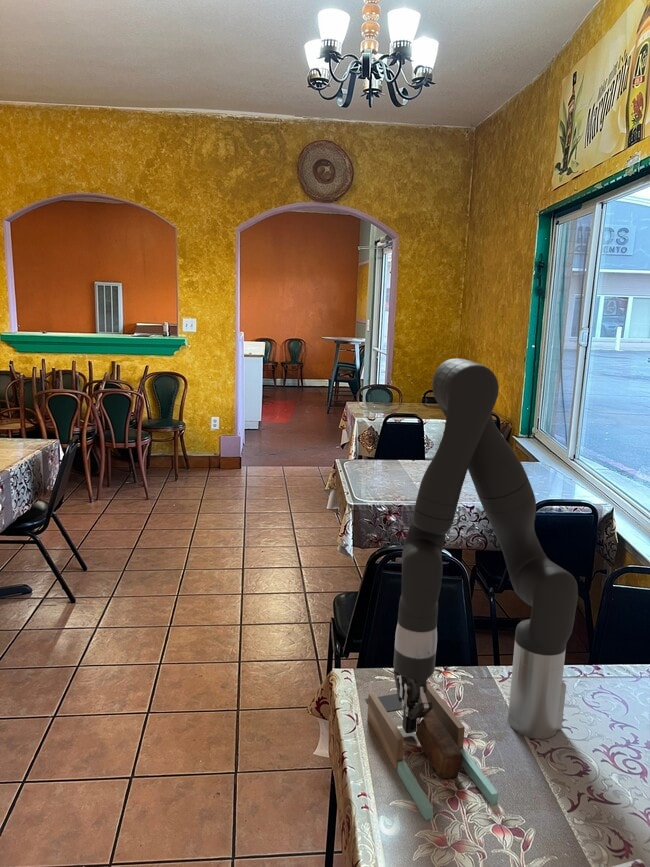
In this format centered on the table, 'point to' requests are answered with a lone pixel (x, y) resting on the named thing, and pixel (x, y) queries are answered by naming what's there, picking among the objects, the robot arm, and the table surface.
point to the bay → (423, 801)
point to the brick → (439, 748)
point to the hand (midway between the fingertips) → (409, 730)
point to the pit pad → (390, 702)
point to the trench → (390, 732)
